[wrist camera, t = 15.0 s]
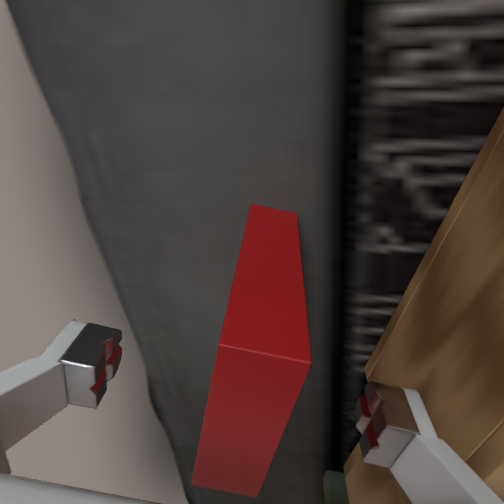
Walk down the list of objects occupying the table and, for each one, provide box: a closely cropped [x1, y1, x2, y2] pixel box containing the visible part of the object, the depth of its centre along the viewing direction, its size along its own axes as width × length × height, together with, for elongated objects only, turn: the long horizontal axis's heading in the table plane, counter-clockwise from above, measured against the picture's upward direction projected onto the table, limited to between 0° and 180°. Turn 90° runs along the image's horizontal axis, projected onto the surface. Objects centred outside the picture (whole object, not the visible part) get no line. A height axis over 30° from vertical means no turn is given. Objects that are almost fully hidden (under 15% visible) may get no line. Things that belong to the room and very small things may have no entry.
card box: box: [191, 204, 312, 497], centre depth 13 cm, size 6×2×9 cm, turn 169°
